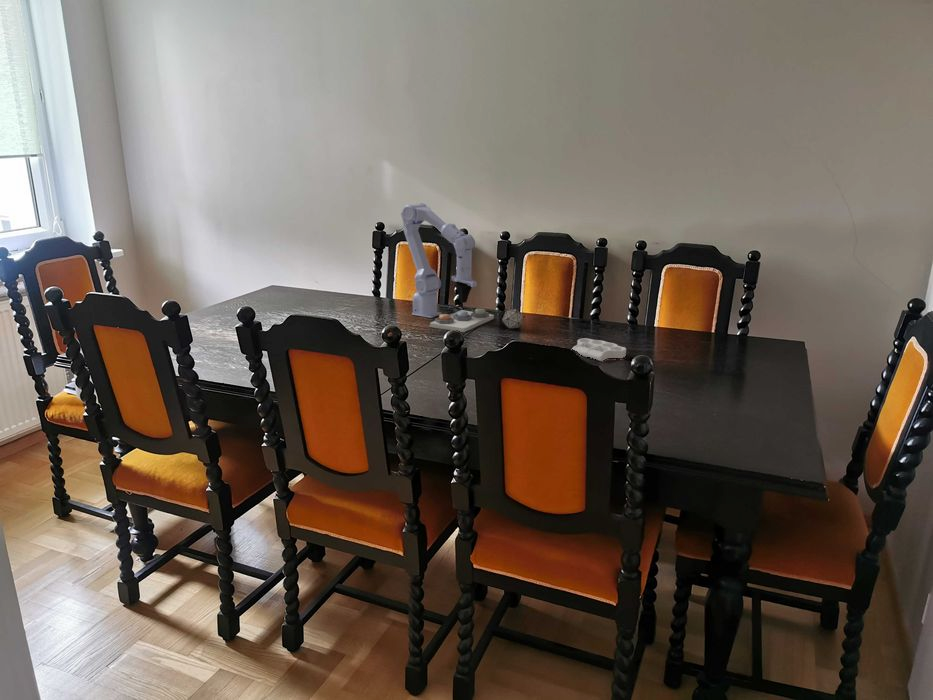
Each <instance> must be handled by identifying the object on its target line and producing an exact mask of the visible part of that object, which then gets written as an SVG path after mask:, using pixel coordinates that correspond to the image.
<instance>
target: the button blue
mask: <svg viewBox="0 0 933 700" xmlns="http://www.w3.org/2000/svg"><path fill="white" fill-rule="evenodd" d="M465 311H466V310H464V311H461V310H459V312H458V311H456V312H457V317H468V312H465Z"/></svg>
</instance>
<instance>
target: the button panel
mask: <svg viewBox="0 0 933 700" xmlns="http://www.w3.org/2000/svg"><path fill="white" fill-rule="evenodd" d="M459 311H465V312H468V317H457V312H459ZM459 311H456V312H454V313H451V314H449V315H450V320H439V316H438V317H436V318H435V317H434V318H435V319H434V321H431V322H429V327H430V328H434V329H441V330H447V331H452V330H458V331H460V332H459V333H466V332H467V331H471V330H472V329H474V328H476V327H479V326H482V325H483V324H485V323H488V322H490V321H491V320H494V319H495V318H494V317H495V315H494V314H491V313H489V312H487V311H485V314H484V315H476V314H475V311H470V310H462V309H461V310H459ZM458 331H457V332H458Z"/></svg>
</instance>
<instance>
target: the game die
mask: <svg viewBox="0 0 933 700" xmlns="http://www.w3.org/2000/svg"><path fill="white" fill-rule="evenodd" d="M504 310H505V312H504V314H503V317H502V319H501V320H499V322H502V323H503V324H504V325H505V326H506V327H507V328H508V331H510V330H511V329H517V328H518V329H519V330H521V323H522V322H523V319H524V318H526V315H524V316H523V314H521V312H520V311H519V310H518V307H517V306H516V307H515V308H512V309H507V308H504Z"/></svg>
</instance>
